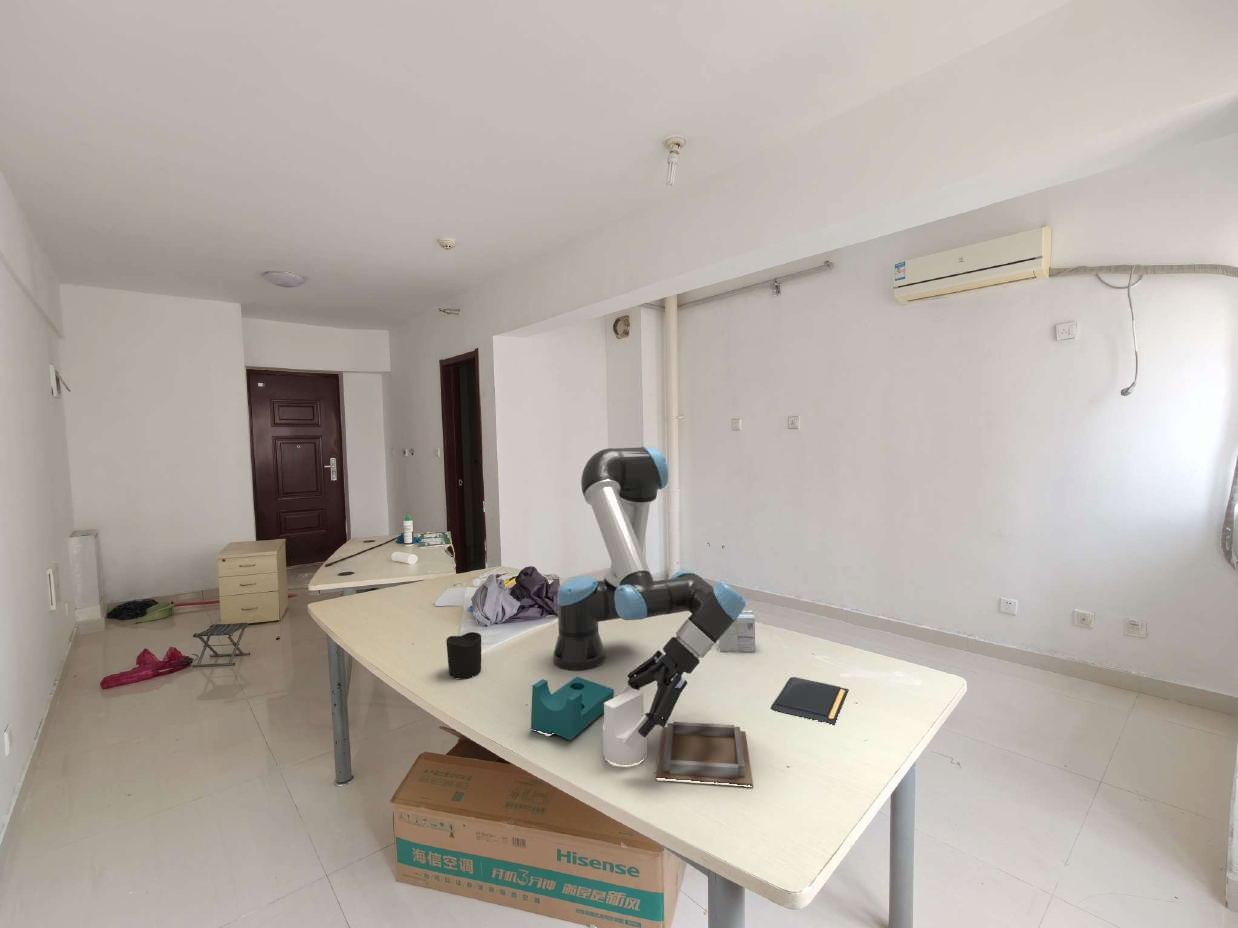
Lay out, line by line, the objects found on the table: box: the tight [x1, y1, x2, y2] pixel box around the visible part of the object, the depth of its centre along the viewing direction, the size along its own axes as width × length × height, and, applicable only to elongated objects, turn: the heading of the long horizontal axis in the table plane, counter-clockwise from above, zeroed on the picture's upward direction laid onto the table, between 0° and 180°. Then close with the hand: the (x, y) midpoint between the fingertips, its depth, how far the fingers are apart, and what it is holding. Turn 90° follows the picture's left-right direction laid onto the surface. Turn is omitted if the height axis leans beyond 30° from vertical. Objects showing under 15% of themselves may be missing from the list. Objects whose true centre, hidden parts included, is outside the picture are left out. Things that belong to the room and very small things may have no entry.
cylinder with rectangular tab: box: [602, 689, 648, 765], centre depth 114 cm, size 9×9×12 cm
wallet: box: [770, 676, 850, 726], centre depth 136 cm, size 20×2×15 cm
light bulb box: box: [718, 610, 756, 653], centre depth 169 cm, size 11×7×11 cm, turn 84°
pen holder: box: [445, 631, 482, 679], centre depth 155 cm, size 9×9×10 cm
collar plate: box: [655, 721, 754, 787], centre depth 113 cm, size 18×18×3 cm
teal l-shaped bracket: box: [530, 676, 615, 741], centre depth 129 cm, size 18×11×10 cm, turn 150°
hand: (619, 727), depth 114 cm, fingers open, 13 cm apart
